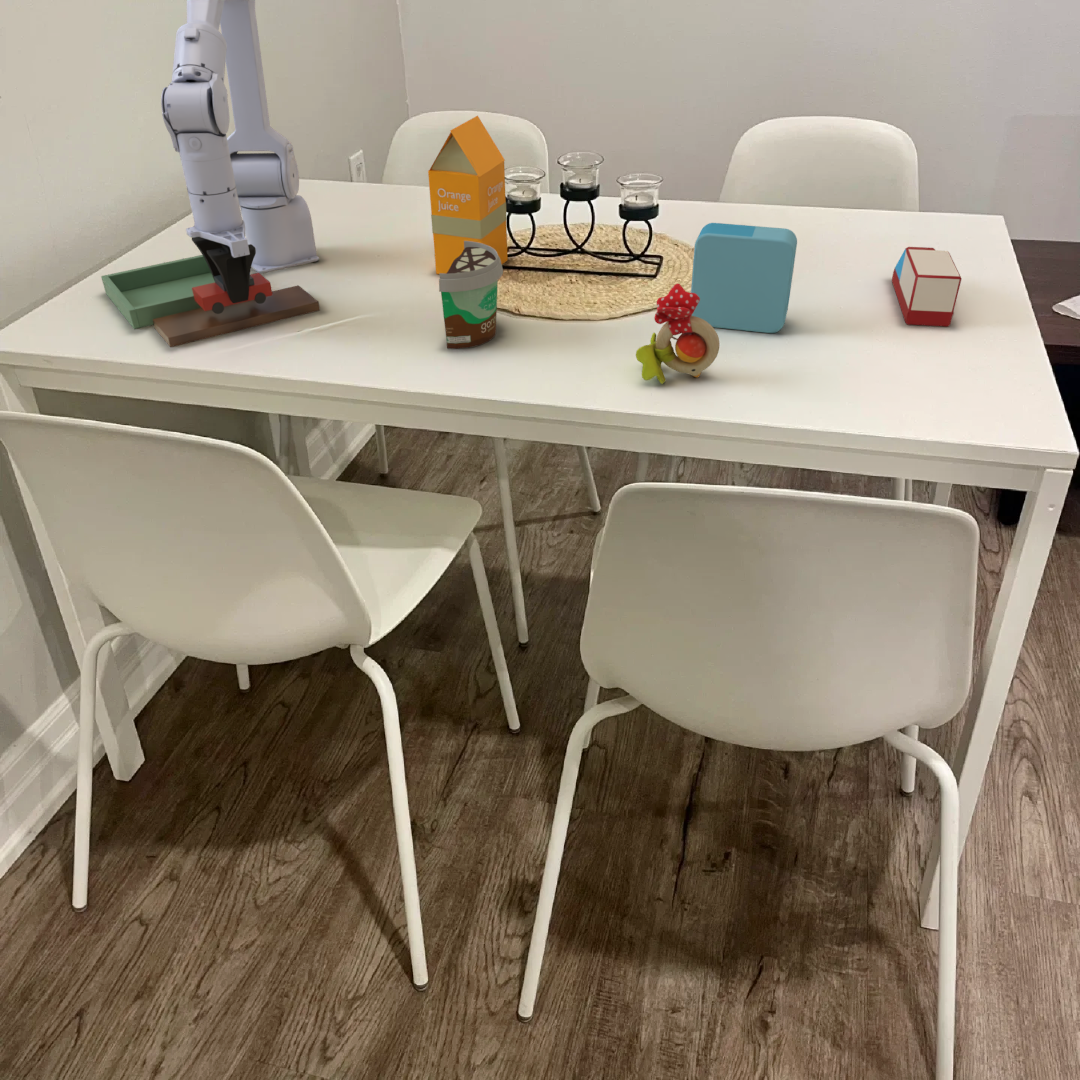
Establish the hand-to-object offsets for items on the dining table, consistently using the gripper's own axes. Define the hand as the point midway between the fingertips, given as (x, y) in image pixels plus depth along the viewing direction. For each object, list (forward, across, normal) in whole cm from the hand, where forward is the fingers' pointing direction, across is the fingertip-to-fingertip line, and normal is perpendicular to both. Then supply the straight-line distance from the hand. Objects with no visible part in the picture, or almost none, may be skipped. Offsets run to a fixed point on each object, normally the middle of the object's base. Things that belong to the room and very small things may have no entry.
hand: (233, 294), depth 129 cm
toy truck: (+4, +47, +77) cm, 90 cm away
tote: (+4, -12, -4) cm, 13 cm away
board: (+4, 0, 0) cm, 4 cm away
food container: (+4, +22, +24) cm, 33 cm away
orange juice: (+4, +1, +35) cm, 35 cm away
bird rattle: (+4, +45, +37) cm, 58 cm away
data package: (+4, +38, +53) cm, 65 cm away
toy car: (+1, 0, 0) cm, 1 cm away
